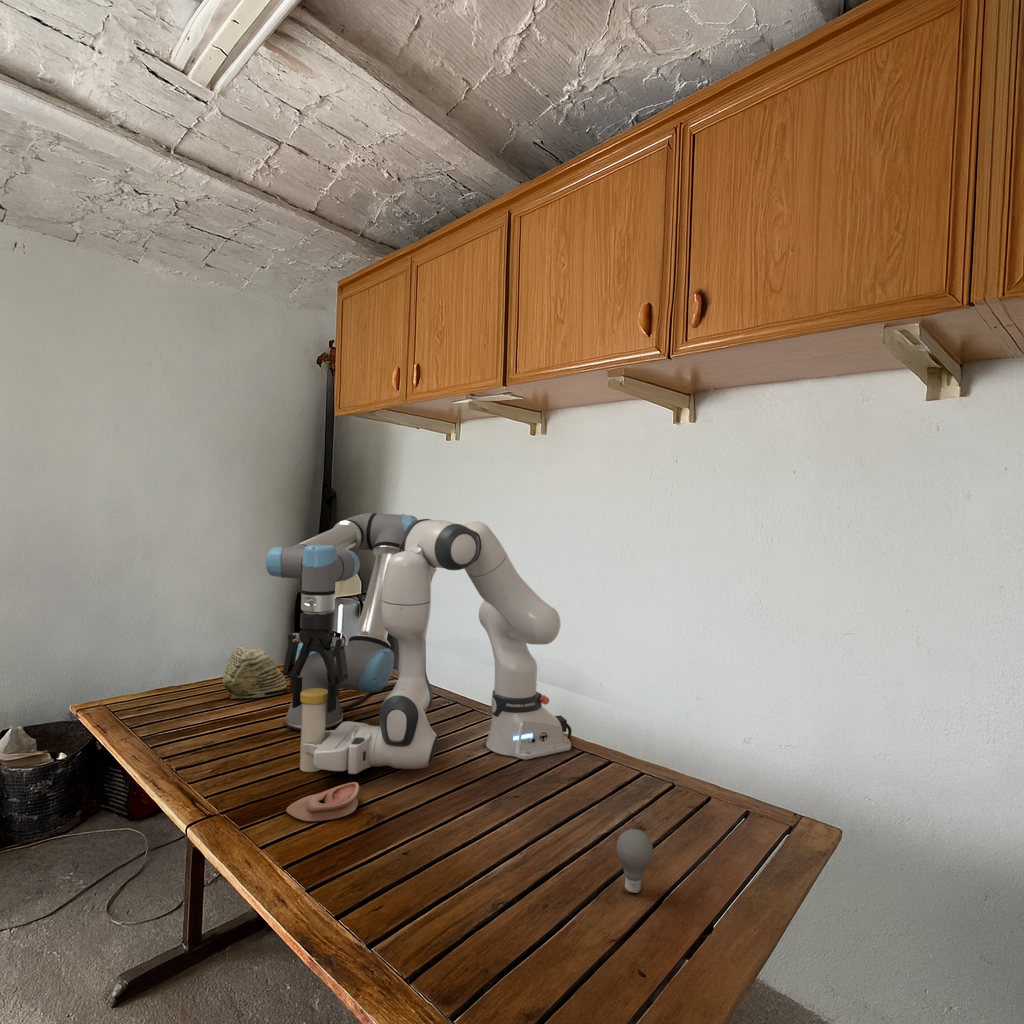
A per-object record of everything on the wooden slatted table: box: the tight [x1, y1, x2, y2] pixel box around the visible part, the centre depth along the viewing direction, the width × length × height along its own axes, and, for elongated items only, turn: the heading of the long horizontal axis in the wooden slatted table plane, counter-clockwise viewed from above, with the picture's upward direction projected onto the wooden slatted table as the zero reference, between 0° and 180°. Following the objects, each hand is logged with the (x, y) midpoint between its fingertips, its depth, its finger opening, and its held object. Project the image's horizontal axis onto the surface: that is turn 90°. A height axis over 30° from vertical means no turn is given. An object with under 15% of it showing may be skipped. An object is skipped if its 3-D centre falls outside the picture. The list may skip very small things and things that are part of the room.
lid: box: [300, 688, 328, 704], centre depth 148 cm, size 6×6×2 cm
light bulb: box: [615, 828, 654, 894], centre depth 106 cm, size 6×6×10 cm
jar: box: [299, 702, 326, 773], centre depth 148 cm, size 5×5×17 cm
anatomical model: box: [285, 781, 360, 822], centre depth 129 cm, size 13×4×12 cm
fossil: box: [222, 646, 288, 699], centre depth 198 cm, size 9×18×15 cm, turn 132°
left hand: (314, 708), depth 148 cm, fingers open, 8 cm apart
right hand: (309, 741), depth 148 cm, fingers closed on jar, 5 cm apart
